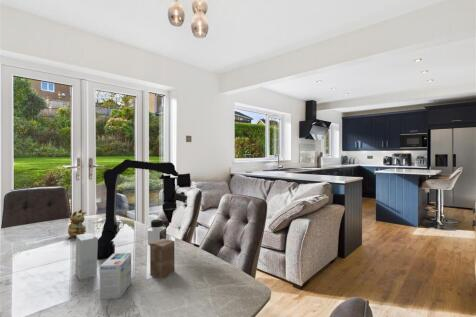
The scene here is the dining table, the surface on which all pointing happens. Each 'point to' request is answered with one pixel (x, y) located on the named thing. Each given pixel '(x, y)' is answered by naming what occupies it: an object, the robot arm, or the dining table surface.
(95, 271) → the skincare box
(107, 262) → the light bulb box
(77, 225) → the decorative figurine
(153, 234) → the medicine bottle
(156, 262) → the brown rectangular block
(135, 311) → the dining table surface
